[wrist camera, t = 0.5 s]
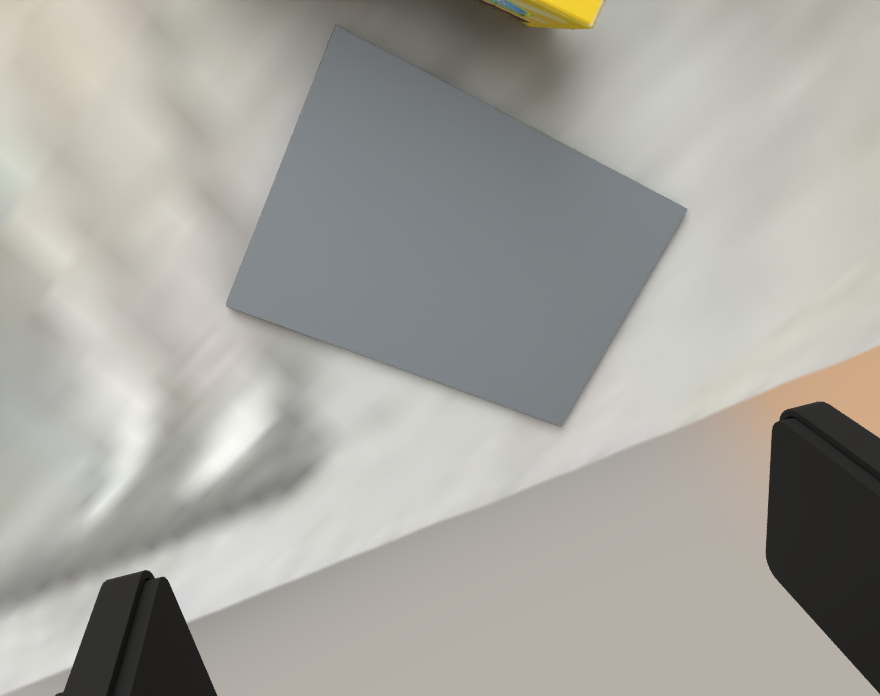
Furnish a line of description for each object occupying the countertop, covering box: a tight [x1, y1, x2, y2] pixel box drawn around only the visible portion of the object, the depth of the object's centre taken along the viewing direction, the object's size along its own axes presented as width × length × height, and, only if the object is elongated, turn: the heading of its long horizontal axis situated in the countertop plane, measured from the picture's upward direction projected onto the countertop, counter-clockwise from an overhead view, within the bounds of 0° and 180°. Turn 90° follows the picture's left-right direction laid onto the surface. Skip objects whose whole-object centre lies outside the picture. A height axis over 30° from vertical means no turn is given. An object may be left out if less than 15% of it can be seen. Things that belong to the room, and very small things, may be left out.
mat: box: [226, 25, 687, 427], centre depth 36 cm, size 14×20×1 cm
